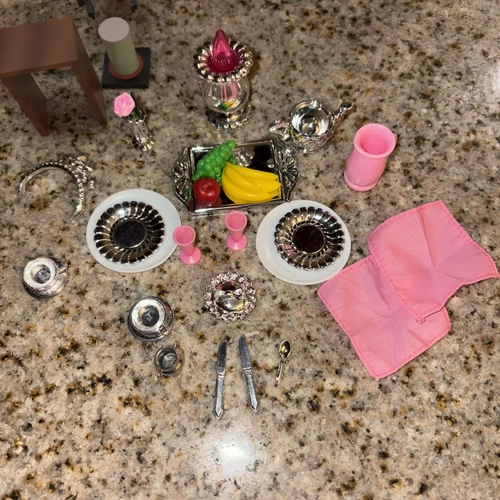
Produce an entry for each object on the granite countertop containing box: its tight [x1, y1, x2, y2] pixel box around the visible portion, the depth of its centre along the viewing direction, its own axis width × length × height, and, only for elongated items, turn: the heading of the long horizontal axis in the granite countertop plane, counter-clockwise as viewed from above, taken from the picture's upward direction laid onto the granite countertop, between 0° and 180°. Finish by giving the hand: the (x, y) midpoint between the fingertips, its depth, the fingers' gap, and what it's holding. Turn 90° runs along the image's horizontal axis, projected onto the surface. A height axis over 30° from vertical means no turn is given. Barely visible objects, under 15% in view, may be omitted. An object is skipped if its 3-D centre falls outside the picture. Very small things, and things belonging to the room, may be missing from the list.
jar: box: [97, 16, 139, 75], centre depth 103 cm, size 6×6×10 cm
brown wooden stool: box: [0, 16, 109, 138], centre depth 97 cm, size 14×10×20 cm
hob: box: [100, 46, 152, 89], centre depth 109 cm, size 10×10×2 cm
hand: (113, 13), depth 103 cm, fingers open, 8 cm apart
